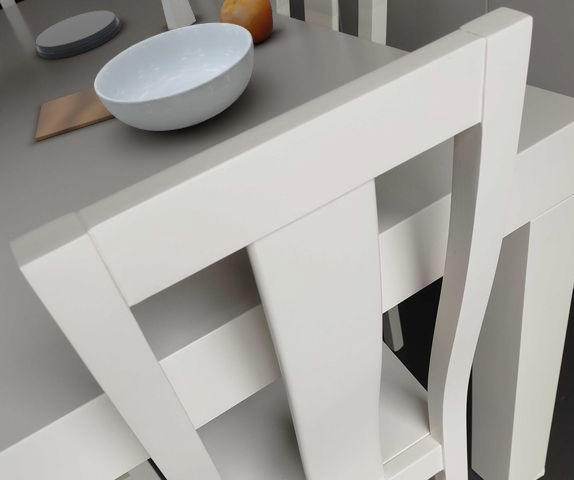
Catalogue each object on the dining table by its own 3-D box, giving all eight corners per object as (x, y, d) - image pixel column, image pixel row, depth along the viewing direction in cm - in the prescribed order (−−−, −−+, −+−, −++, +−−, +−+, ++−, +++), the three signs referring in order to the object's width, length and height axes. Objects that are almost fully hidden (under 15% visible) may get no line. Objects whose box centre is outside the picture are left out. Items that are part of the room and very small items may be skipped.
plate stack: (35, 67, 104) (29, 56, 103) (42, 37, 115) (37, 26, 114) (121, 40, 104) (117, 28, 103) (120, 13, 115) (116, 2, 114)
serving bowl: (91, 124, 83) (68, 75, 78) (213, 61, 89) (198, 12, 84) (159, 171, 70) (137, 116, 65) (296, 94, 76) (285, 38, 71)
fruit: (294, 15, 91) (265, -25, 84) (270, 61, 91) (240, 26, 84) (258, 11, 95) (228, -27, 89) (235, 55, 96) (204, 21, 89)
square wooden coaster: (36, 141, 83) (35, 138, 83) (43, 106, 91) (41, 103, 91) (118, 116, 83) (116, 112, 83) (117, 83, 91) (116, 80, 91)
